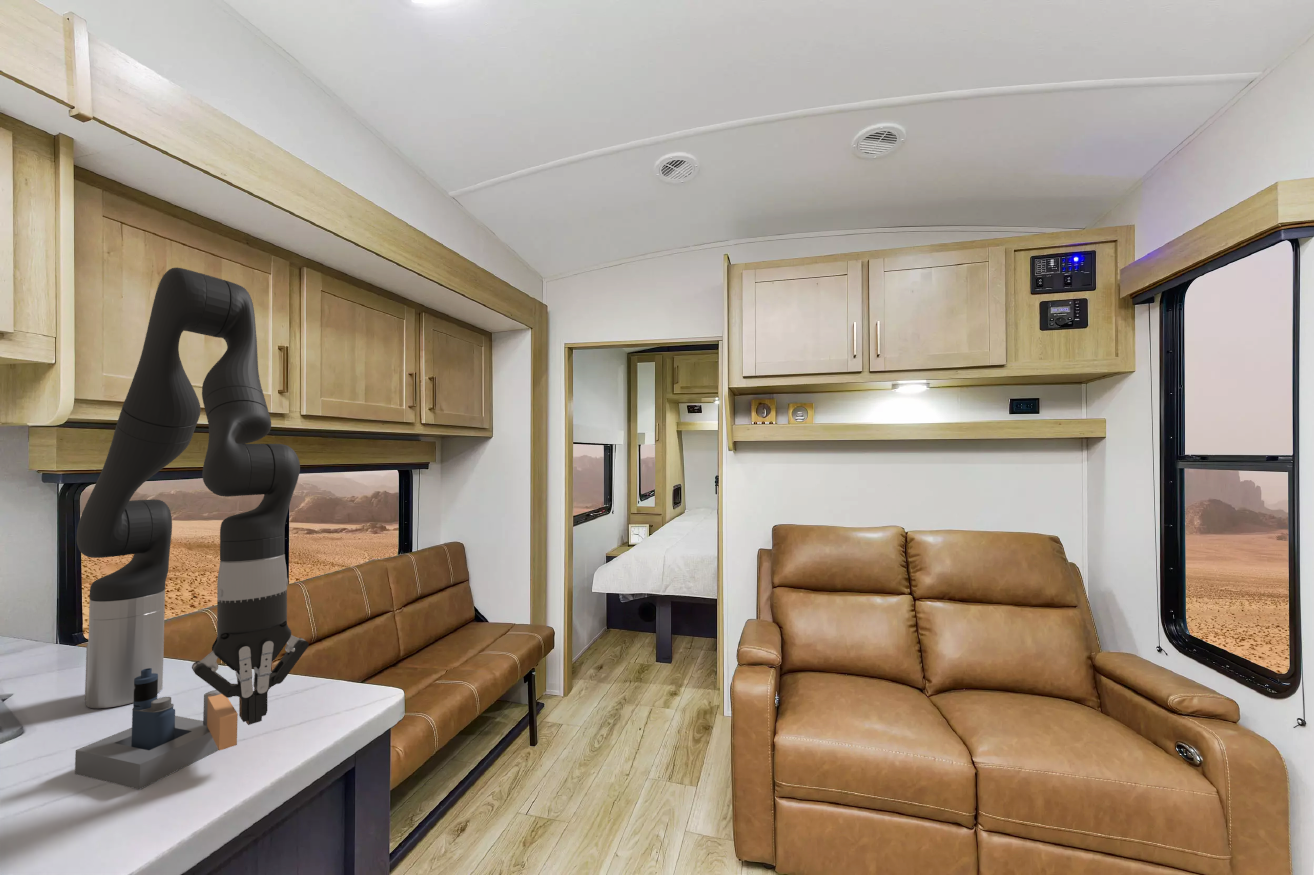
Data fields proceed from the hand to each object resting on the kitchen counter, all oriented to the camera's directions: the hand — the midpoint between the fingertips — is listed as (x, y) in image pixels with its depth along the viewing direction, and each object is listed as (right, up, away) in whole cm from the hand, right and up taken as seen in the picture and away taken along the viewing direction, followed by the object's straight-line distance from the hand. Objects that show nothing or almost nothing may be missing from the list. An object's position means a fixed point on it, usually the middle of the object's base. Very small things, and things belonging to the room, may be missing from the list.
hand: (253, 721), depth 71 cm
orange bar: (-5, -2, +1) cm, 5 cm away
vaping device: (-14, -6, 0) cm, 15 cm away
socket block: (-14, -5, 0) cm, 15 cm away
